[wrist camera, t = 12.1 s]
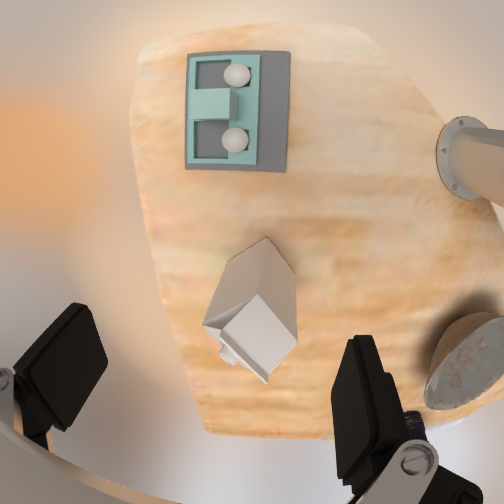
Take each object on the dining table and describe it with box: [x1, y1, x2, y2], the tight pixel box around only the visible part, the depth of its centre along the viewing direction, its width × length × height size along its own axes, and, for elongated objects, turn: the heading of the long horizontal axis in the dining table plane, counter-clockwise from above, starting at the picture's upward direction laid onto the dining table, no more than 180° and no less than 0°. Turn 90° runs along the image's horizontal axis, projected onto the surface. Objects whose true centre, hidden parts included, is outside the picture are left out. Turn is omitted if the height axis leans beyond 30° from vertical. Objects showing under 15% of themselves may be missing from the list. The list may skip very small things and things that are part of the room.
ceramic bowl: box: [424, 312, 504, 410], centre depth 39 cm, size 22×23×10 cm
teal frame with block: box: [187, 55, 261, 165], centre depth 29 cm, size 9×14×7 cm, turn 178°
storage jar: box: [404, 411, 429, 443], centre depth 49 cm, size 10×10×15 cm
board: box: [185, 51, 290, 173], centre depth 31 cm, size 13×16×4 cm
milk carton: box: [202, 237, 298, 384], centre depth 33 cm, size 7×7×19 cm
